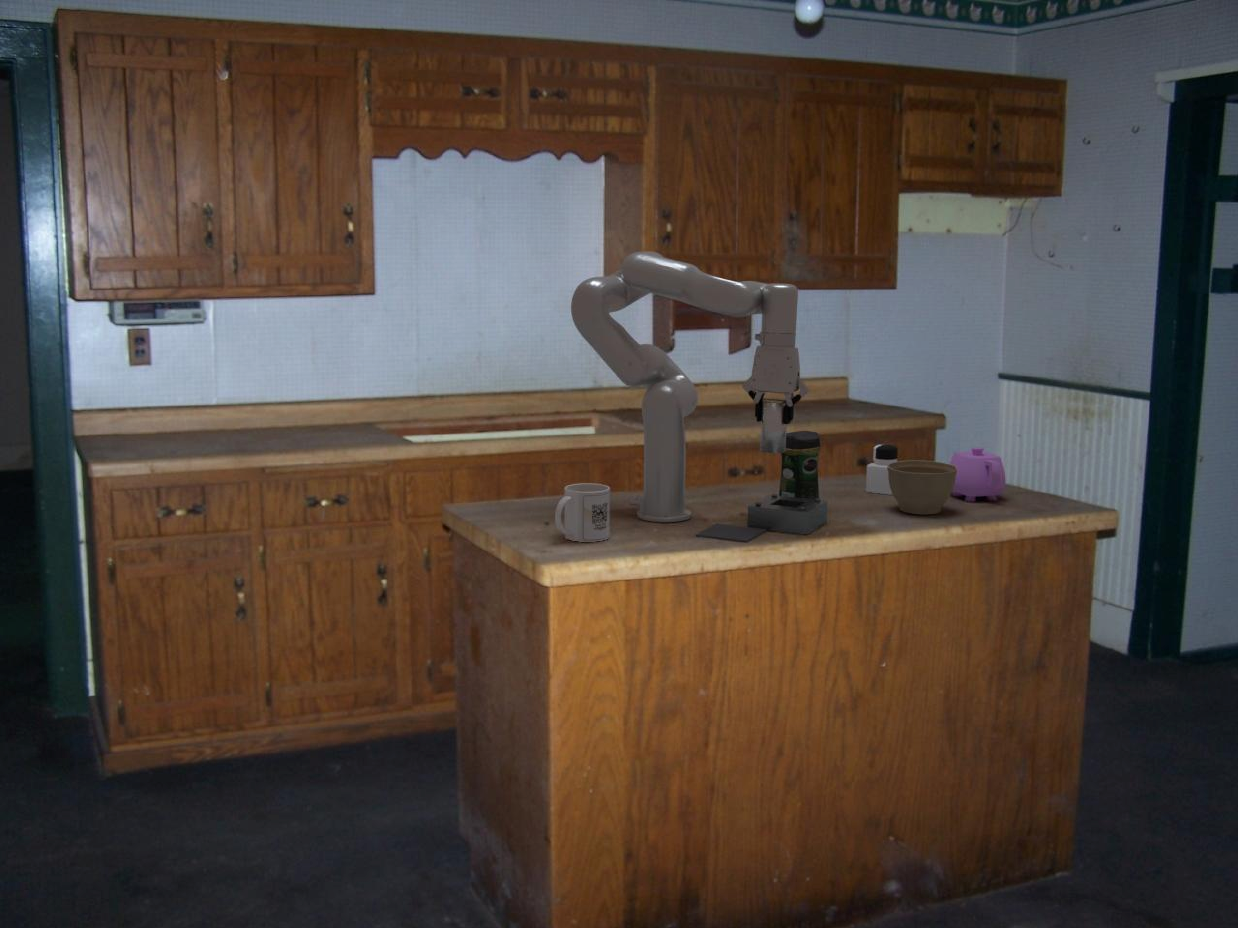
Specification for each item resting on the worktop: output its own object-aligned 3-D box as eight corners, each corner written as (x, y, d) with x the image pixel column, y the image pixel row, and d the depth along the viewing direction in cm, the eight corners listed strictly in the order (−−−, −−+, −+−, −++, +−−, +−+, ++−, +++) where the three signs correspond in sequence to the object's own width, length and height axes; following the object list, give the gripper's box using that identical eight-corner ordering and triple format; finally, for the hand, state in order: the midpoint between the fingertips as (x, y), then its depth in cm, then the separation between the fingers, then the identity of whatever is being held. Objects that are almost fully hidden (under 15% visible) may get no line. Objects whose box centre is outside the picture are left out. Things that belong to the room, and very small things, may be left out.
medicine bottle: (902, 490, 330) (904, 444, 328) (892, 495, 324) (894, 448, 322) (875, 487, 334) (877, 442, 332) (865, 492, 328) (867, 445, 326)
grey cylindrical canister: (756, 451, 284) (758, 399, 282) (764, 447, 289) (766, 396, 287) (781, 453, 282) (783, 401, 280) (788, 449, 287) (790, 398, 285)
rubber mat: (695, 536, 279) (695, 534, 279) (716, 525, 290) (716, 523, 290) (747, 542, 274) (747, 540, 274) (766, 531, 285) (766, 529, 285)
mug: (611, 543, 273) (611, 492, 271) (555, 544, 272) (555, 493, 270) (608, 532, 283) (608, 482, 281) (553, 532, 282) (553, 483, 280)
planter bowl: (872, 506, 310) (874, 462, 308) (928, 502, 316) (930, 458, 314) (911, 520, 296) (913, 474, 294) (968, 515, 302) (971, 470, 300)
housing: (747, 527, 288) (747, 503, 287) (769, 515, 300) (769, 492, 299) (807, 534, 281) (807, 509, 280) (826, 522, 294) (827, 498, 293)
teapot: (1017, 504, 315) (1021, 453, 312) (972, 506, 312) (975, 455, 309) (975, 488, 334) (978, 440, 331) (932, 490, 331) (934, 441, 328)
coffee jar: (801, 502, 315) (803, 427, 312) (824, 508, 309) (827, 431, 306) (772, 507, 310) (774, 431, 306) (794, 512, 303) (797, 435, 300)
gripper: (735, 339, 281) (731, 420, 284) (811, 344, 274) (806, 428, 277) (746, 336, 288) (742, 416, 291) (820, 342, 281) (816, 423, 284)
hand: (773, 421), depth 284 cm, fingers closed on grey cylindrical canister, 5 cm apart
